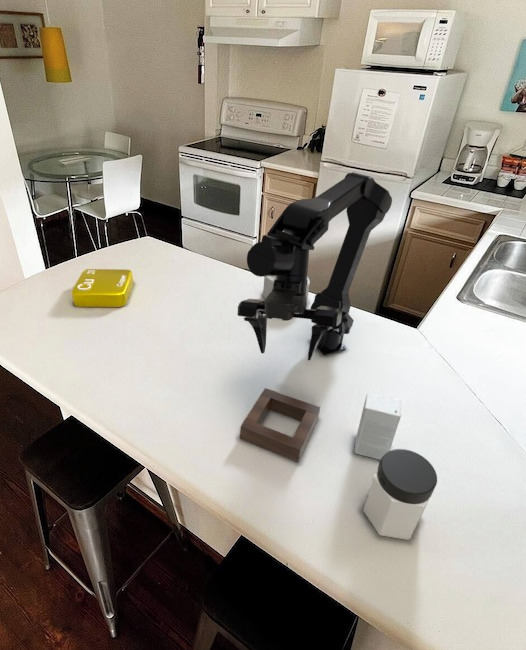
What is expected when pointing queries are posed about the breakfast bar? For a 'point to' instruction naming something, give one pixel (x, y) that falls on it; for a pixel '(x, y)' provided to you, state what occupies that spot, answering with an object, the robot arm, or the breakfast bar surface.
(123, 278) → the element tile
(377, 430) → the cosmetic box
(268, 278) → the lumpy-topped squat cylinder
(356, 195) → the robot arm
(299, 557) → the breakfast bar surface
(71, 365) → the breakfast bar surface
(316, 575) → the breakfast bar surface
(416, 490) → the jar
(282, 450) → the frame
